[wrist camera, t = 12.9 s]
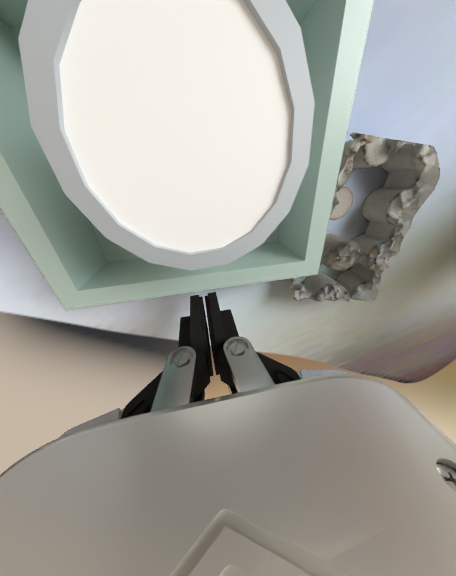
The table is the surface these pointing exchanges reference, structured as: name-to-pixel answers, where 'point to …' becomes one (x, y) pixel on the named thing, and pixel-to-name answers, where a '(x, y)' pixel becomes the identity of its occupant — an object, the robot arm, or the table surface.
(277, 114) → the shot glass
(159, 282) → the tray
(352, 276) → the egg carton
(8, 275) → the table surface
